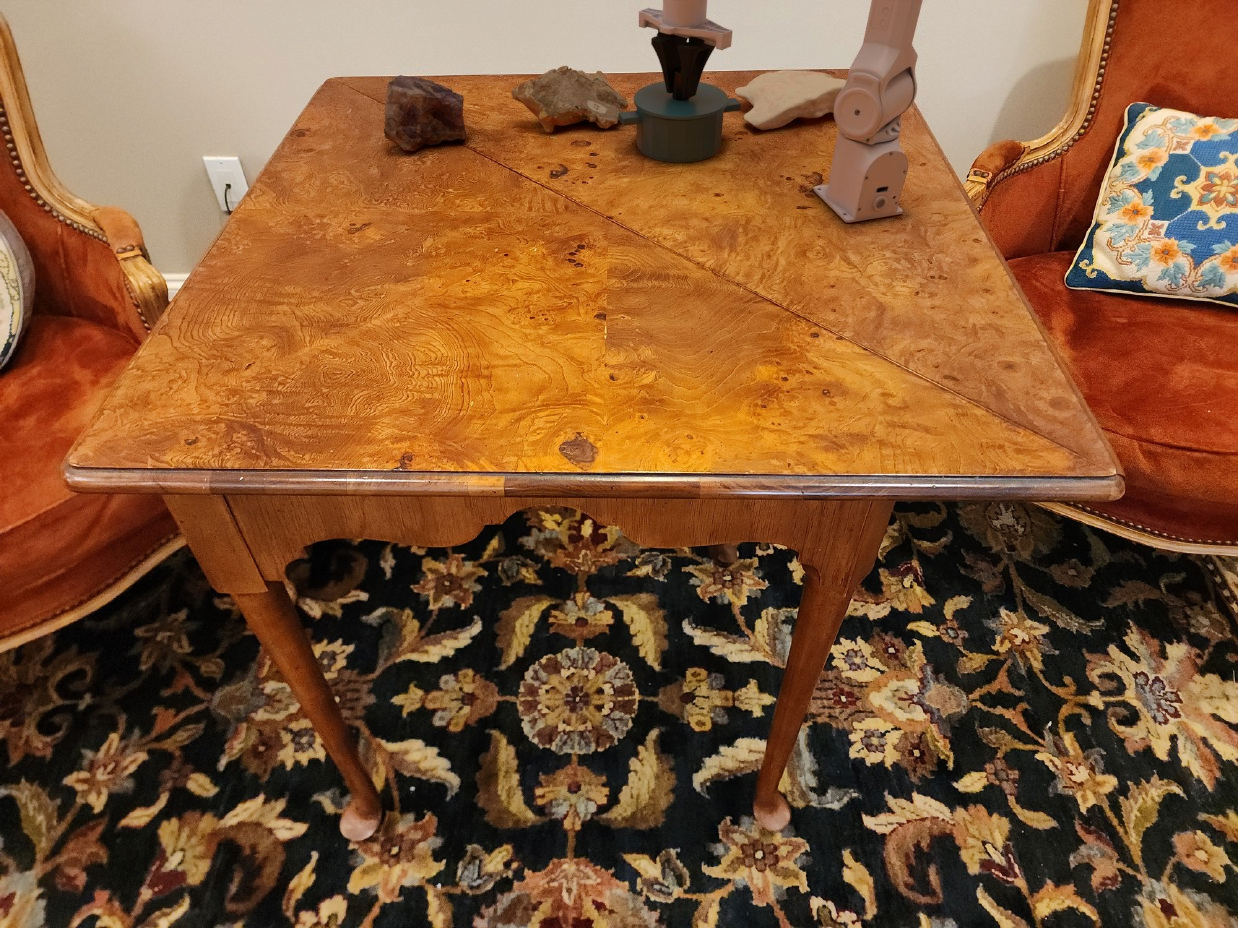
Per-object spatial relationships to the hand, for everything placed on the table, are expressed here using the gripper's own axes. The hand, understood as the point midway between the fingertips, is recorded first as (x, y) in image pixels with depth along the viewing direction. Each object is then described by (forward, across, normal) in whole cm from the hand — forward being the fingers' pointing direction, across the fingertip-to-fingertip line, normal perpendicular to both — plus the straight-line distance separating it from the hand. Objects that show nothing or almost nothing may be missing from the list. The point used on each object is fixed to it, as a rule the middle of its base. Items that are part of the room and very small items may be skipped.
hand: (680, 94), depth 106 cm
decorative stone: (+7, +5, +23) cm, 24 cm away
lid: (+1, 0, 0) cm, 1 cm away
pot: (+7, 0, 0) cm, 7 cm away
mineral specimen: (+7, -18, -5) cm, 20 cm away
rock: (+7, -29, -24) cm, 38 cm away
